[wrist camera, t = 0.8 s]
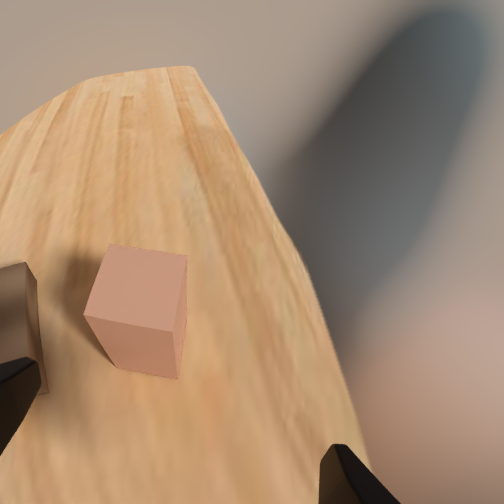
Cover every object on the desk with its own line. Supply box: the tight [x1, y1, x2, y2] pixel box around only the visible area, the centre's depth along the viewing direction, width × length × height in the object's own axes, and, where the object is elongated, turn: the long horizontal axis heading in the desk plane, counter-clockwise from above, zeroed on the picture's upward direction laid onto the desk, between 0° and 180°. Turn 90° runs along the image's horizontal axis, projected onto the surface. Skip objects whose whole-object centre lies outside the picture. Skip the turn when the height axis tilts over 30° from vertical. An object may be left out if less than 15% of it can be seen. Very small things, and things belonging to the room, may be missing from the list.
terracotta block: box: [83, 244, 187, 379], centre depth 20 cm, size 5×5×9 cm
